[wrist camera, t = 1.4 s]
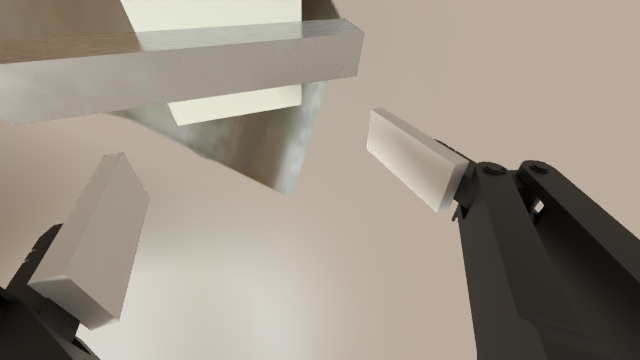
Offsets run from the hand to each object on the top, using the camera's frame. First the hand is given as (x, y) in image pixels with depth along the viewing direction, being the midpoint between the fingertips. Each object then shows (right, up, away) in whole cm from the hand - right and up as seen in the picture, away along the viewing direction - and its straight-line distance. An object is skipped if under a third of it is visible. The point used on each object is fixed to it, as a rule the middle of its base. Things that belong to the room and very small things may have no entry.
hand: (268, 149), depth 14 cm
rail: (-6, +8, +5) cm, 12 cm away
